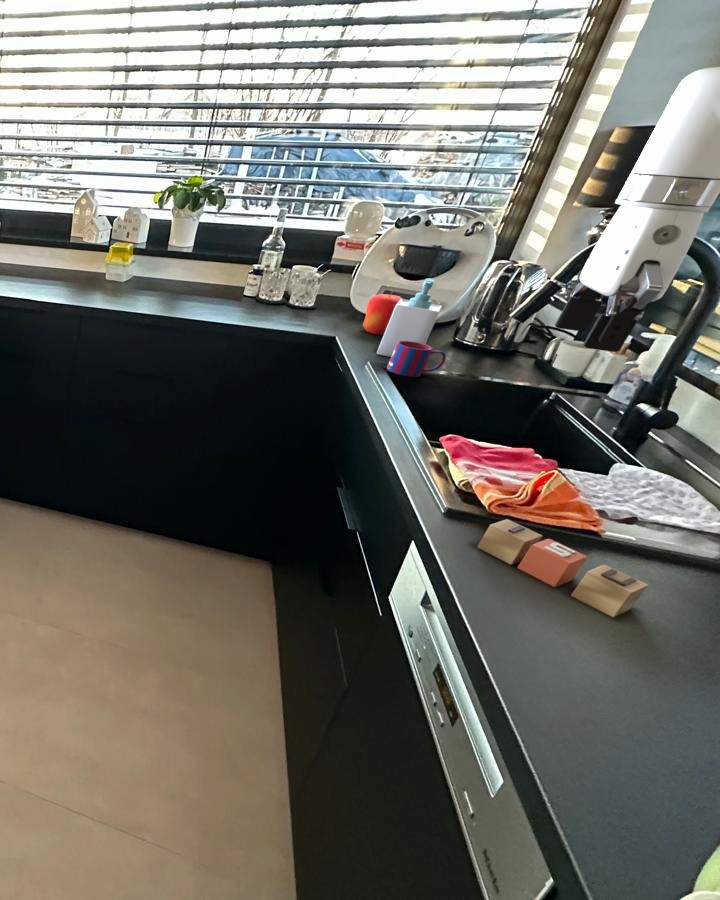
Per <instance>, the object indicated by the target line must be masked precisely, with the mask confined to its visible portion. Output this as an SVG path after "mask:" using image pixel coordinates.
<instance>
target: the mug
mask: <svg viewBox="0 0 720 900" xmlns="http://www.w3.org/2000/svg"><path fill="white" fill-rule="evenodd" d="M438 353H439V354H441V360H440V362H439V363H438V364H437V365H436V366H433V367H431V368H425V367H426V364H427V362H428V360H429V358H430V356H431V355H433V354H438ZM446 357H447V356H446V353H445V352H444V351H442V350H438V349H433V347H432V346H430V345H428V344H426V343H425V344H422V343H417V342H412V341H398V342H397V345H396V347H395V349H394V352H393V354H392V357H390V359H389V361H388V364H387V366H386V370H387V371H388V372H390V373H393V374H396V375H399V376H404V377H409V378H418V377H419V378H420V377H421V375H422V374H423V373H427V372H433V371H436V370H438V369H440V368H441V367H442V366H443V365H444V363H445V362H446Z"/></svg>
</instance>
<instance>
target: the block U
mask: <svg viewBox="0 0 720 900" xmlns="http://www.w3.org/2000/svg"><path fill="white" fill-rule="evenodd" d="M648 587H649V584H648V583H646V582H644V581H641V580H639V579H637V578H636V577H633V576H631V575H628V574H626V573H624V572H622V571H620V570H618V569H616V568H613V567H611V566H609V565H607V564H602V565H600V566H598V567H595V568H593V569H590V570H588V571H587V572H586V573H585V574H584V576H583V578H582V579H581V580H580V582H579V583H578V585H577V586H576V588H575V589H574V590H573V592H572V593H571V596H570V597H572V598H574V599H577V600H578V601H580V602H582V603H584V604H586V605H589V606H590V607H592V608H593V609H594V608H595V609H596V610H598V611H599V612H602V613H604V614H605V615H608V616H610V617H612V618H615V617H617V616H619V615H621V614H623V613H625V612H627V611H629V610H631V609H632V608H633V606H634V605H635V603H636V602H637V601H638V600H639V598H641V596H642V594H643V593H644V591H645V590H646V589H647V588H648Z"/></svg>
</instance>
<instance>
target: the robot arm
mask: <svg viewBox="0 0 720 900" xmlns="http://www.w3.org/2000/svg"><path fill="white" fill-rule="evenodd" d="M626 179H627V180H626V181H625V183H624V185H623V187H622V189H621V190H620V192H619V194H618V196H617V198H616V199H615V202H614V204H616V205H620V206H619V207H618V209H617V211H616V212H615V214H614V215H613V216H612V218H611V220H610V221H609V223H608V224H607V226H606V228H605V229H604V230H603V232H602V234H601V235H600V237H599V239H598V240H597V242H596V243H595V246H594V247H593V249H592V251H591V253H590V254H589V256H588V258H587V260H586V262H585V263H584V266H583V268H582V270H581V272H580V275H579V277H578V278H577V280H576V281H577V284H576V285H575V287H574V288H572V290H571V292H570V296H569V298H568V299H567V301H566V303H565V305H564V307H563V309H562V310H561V312H560V314H559V315H558V318H557V320H556V321H555V324H554V326H555V328H556V329H561V330H569V331H577V332H583V333H584V332H586V331H588V329H589V328H590V326H591V324H592V323H593V321H594V319H595V317H596V315H597V314H598V312H599V310H600V308H601V307H602V305H603V304H604V301H602V300H601V299H602V298H604V297H608V300H607V305H606V309H605V314H603V313H600V314H599V316H598V318H597V319H596V321H595V323H594V324H593V326H592V328H591V329H590V331H589V333H588V334H587V337H586V338H585V340H584V342H583V344H582V345H583V347H585V348H586V349H592V350H599V351H604V352H612V353H617V352H619V351H620V350H621V349H622V347H623V345H624V344H625V342H626V341H627V339H628V337H629V335H630V334H631V332H632V331H633V329H634V327H635V326H636V324H637V323H638V321H640V320H641V319H642V318H643V317H644V313H645V311H647V310H648V309H649V308H650V307H651V306H652V304H653V302H655V301H658V300H660V299H661V298H663V296H664V295H665V293H666V292H667V290H668V288H669V287H670V284H671V283H672V281H673V279H674V278H675V276H676V274H677V272H678V270H679V268H680V267H681V265H682V263H683V261H684V259H685V257H686V255H687V253H688V251H689V250H690V248H691V246H692V243H693V241H694V240H695V237H696V235H697V233H698V230H699V227H700V226H701V224H702V220H703V217H704V214H705V213H708V212H709V211H710V209H711V207H712V206H713V204H714V203H715V201H716V199H717V197H718V196H719V194H720V66H713V67H706V68H702V69H697V70H695V71H693V72H690V74H688V75H686V76H685V77H684V78H683V79H682V80H681V82H680V83H679V84H678V86H677V88H676V89H675V91H674V92H673V94H672V95H671V98H670V99H669V101H668V104H667V106H666V107H665V109H664V111H663V113H662V114H661V116H660V118H659V120H658V122H657V124H656V126H655V128H654V130H653V131H652V132H651V135H650V137H649V139H648V140H647V142H646V144H645V145H644V148H643V150H642V151H641V154H640V156H639V157H638V159H637V161H636V162H635V165H634V167H633V168H632V170H631V173H629V176H628V177H627V178H626ZM621 301H623V302H621Z"/></svg>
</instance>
